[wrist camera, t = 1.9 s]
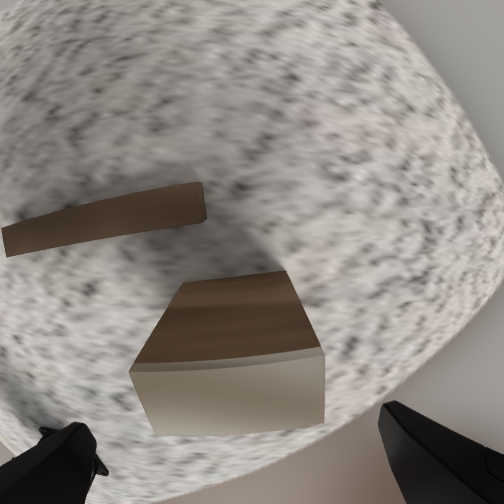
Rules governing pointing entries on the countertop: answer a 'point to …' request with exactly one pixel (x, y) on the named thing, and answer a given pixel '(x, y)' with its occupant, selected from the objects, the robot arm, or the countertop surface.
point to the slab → (232, 360)
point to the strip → (108, 219)
